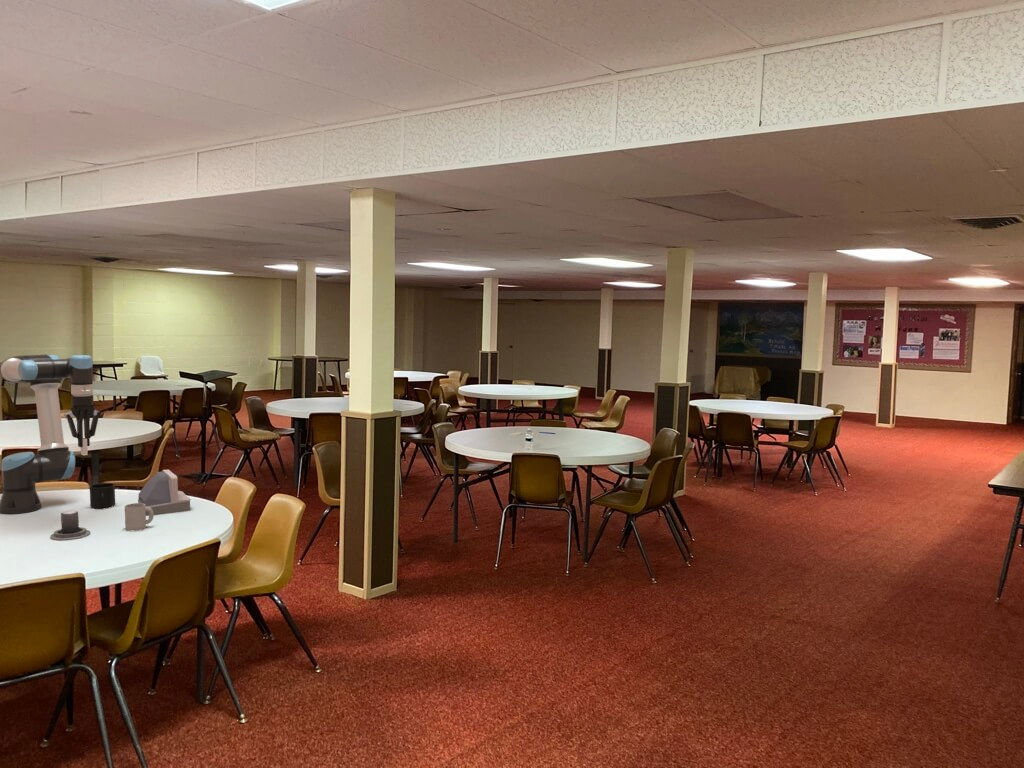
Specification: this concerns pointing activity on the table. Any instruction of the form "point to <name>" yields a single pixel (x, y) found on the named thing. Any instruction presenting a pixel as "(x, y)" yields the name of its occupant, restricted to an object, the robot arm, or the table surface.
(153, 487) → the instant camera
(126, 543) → the table surface
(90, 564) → the table surface
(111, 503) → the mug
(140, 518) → the cup
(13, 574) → the table surface
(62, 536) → the ring
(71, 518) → the dark grey cylinder
